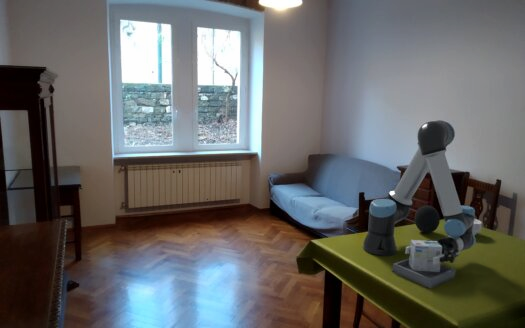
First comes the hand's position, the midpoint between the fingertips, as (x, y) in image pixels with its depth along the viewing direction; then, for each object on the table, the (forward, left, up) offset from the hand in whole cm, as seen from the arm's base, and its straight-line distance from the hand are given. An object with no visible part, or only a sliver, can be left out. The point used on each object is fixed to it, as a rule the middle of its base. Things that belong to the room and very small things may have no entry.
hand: (419, 255), depth 154 cm
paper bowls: (-18, +69, -9) cm, 72 cm away
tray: (0, +4, -9) cm, 10 cm away
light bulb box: (0, +4, -6) cm, 7 cm away
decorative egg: (-30, +52, -9) cm, 61 cm away
